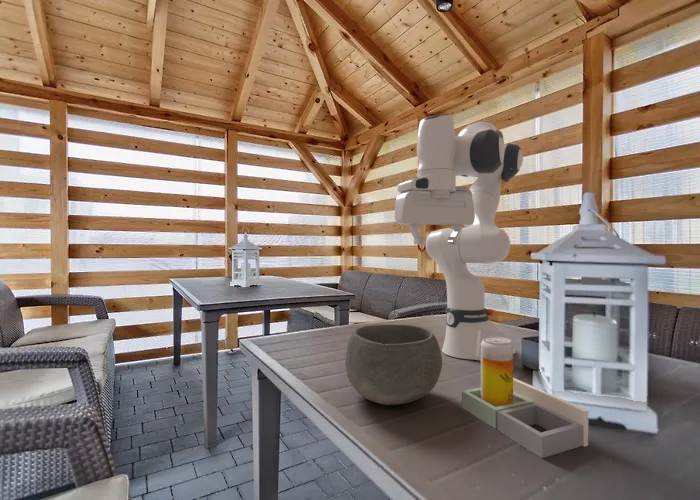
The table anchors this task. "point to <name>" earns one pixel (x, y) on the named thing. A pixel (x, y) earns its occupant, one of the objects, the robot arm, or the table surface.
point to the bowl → (393, 362)
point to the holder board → (533, 419)
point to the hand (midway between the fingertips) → (436, 244)
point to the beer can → (497, 371)
